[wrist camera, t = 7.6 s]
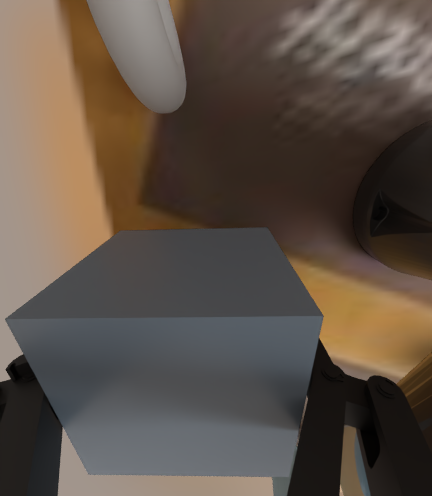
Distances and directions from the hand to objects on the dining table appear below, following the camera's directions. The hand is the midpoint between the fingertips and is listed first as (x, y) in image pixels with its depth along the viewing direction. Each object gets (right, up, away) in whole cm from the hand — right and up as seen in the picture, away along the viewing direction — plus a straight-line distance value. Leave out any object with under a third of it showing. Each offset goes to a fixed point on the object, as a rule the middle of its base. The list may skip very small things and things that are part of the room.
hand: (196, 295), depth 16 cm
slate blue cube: (0, 0, +1) cm, 1 cm away
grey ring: (-3, +20, +2) cm, 20 cm away
